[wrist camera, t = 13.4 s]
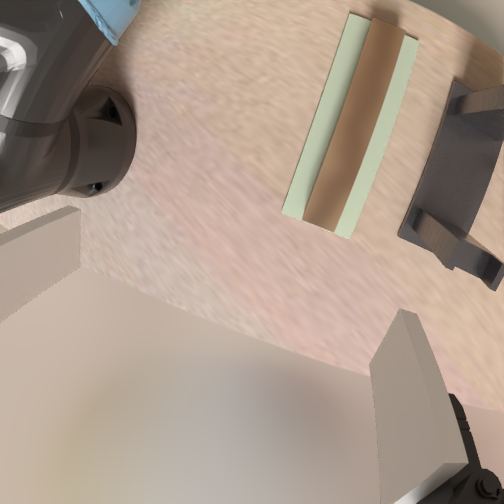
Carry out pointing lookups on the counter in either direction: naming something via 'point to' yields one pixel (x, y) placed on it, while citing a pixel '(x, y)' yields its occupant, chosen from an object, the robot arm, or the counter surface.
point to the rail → (355, 125)
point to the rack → (459, 183)
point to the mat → (328, 120)
